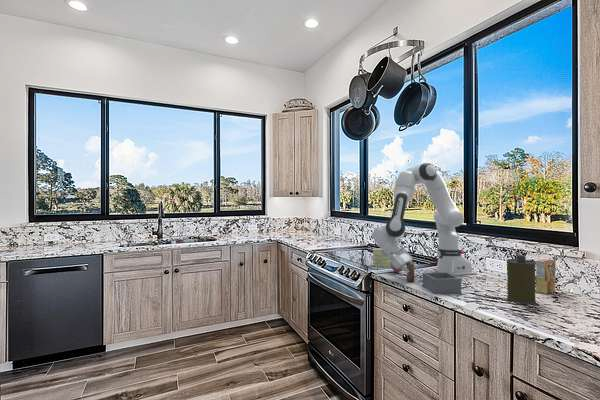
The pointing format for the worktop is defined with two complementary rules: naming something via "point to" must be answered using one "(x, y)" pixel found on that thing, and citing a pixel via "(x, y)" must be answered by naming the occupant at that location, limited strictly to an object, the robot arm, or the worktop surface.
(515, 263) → the canister
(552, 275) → the candy box
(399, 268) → the decorative fruit
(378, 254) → the box
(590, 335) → the worktop surface
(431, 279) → the socket box
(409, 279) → the walnut peg
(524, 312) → the worktop surface
